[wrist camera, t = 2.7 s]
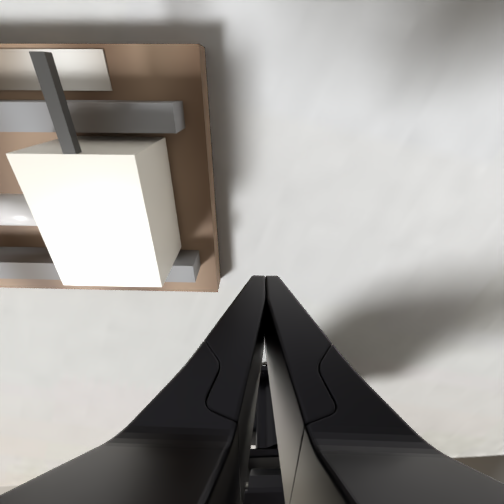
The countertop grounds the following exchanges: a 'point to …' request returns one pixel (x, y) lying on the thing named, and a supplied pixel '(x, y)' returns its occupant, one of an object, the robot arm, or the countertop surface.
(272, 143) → the countertop surface
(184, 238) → the gauge base
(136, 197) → the carriage
